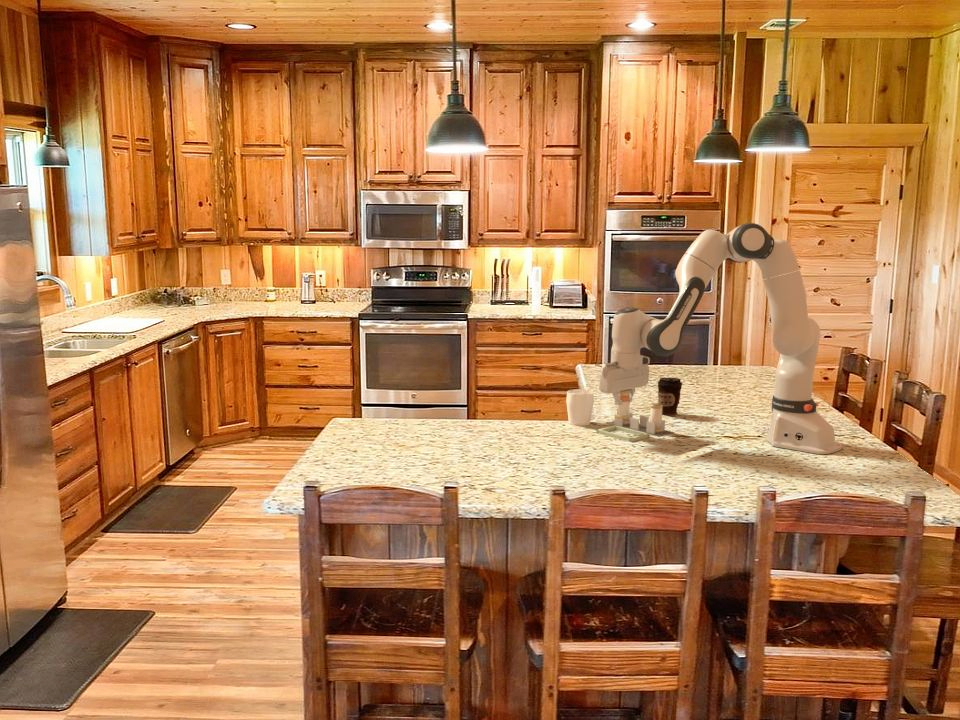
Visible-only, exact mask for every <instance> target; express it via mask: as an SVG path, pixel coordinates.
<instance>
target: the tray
mask: <svg viewBox="0 0 960 720" xmlns="http://www.w3.org/2000/svg"><path fill="white" fill-rule="evenodd" d="M614 430H616V431H619V432H625V433H628V434H632V435H635V436H632V437H630V436H626V435H622V434H618V433H614V432H611V431H614ZM596 434H598V435H602V436H607V437H610V438H614V439H618V440H622V441H626V442H630V443H633V442H637V441H641V440H643V439H646V438H650V434H649V433H645V432H641V431H636V430H632V429H628V428H624V427H620V426H616V425H609V426H606V427H602V428H599V429H596Z"/></svg>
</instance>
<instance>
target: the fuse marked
mask: <svg viewBox="0 0 960 720" xmlns="http://www.w3.org/2000/svg"><path fill="white" fill-rule="evenodd" d="M629 393H630V390H624V391H620V395H619V396H620V399H622V404H621V405H616V414H617V418H619V419H628V417H629V415H628V413H629V412H630V409H629Z"/></svg>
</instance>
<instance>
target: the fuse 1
mask: <svg viewBox="0 0 960 720" xmlns="http://www.w3.org/2000/svg"><path fill="white" fill-rule="evenodd" d="M630 403H631V402H630ZM630 403H629V410H630V408H631V407H630ZM628 415H629V413H628ZM623 425H629V417H628V419H623Z"/></svg>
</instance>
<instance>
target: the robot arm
mask: <svg viewBox="0 0 960 720" xmlns="http://www.w3.org/2000/svg"><path fill="white" fill-rule="evenodd" d="M726 260H727V261H731V262H733V263H738V264H741V263H747V262H751V261H754V262H755V263H756V264H757V265H758V268H759V269H760V272H761V276H762V281H763V286H764V289H765V293H766V296H767V301H768V304H769V306H768V307H769V312H770V315H769V316H770V322H771V323H770V324H771V331H772V344H773V347H774V349H775V350H776V351H777V352H778V353H779V356H778V362H777V366H776V370H775V374H774V375H775V378H774V390H773V391H774V392H773V395H772V400H771V412H772V413H771V420H770V422H769V428H768V431H767V433H766V437H765V441H767V442H769V443H770V445H771V446H772V447H776V448H782V449H787V450H793V451H794V450H795V451H799V452H805V453H812V454H816V455H828V454H833V453H836V452H839V451H840V450H843V444H842V443H841V442H839V441H836V436H835V435H836V433H835V430H834V427H833V425H831V424H830V423H829V422H828V421H827V420H826V419H825V418H824V417H823V416H821V415H820V413H818V412H817V407H819V406H820V402H815V401H814V399H813V398H812V397H813V387H814V386H813V385H814V375H815V374H814V373H815V367H816V363H817V358H818V357H817V356H818V352H819V344H820V338H821V328H820V325H819V324H818V322H817V321H815V320H814V319H812V317H809V315H808V306H807V305H808V304H807V303H808V302H807V293H806V288H805V284H804V280H803V277H802V273H801V272H802V271H801V270H800V269H801V268H800V266H799V263H798V260H797V257H796V254H795V252H794V249H793V248H792V246H791V244H790V242H788V241H787V240H785V239H783V238H782V239H779V238H778V239H777V238H776V239H775V238H774V237H773V236H772V235H771V234H769V232H767V230H766V229H765V228H764V227H763V226H762V225H760V224H757V223H754V222H747V223H743V224H741V225H738V226H736V227H734V228H733V229H732V230H730V231H729V232H727V233H725V234H724V233H722V232H720V231H718V230H716V229H705V230H704V231H702V232H701V233H700V234H699V235H698V236H697V237H696V239H695V240H693V242H692V243H691V244H690V245H689V247H688V248H687V249H686V251H685V252H684V254H683V256H682V257H681V258H680V260H679V262H678V264H677V266H676V269H675V272H674V273H675V279H676V282H677V285H678V286H679V287H678V288H679V292H678V296H677V298H676V300H675V302H674V304H673V305H672V307H671V309H670V311H668V314H667V316H666V317H665V318H664V319H659V318H656V317H653V316H651V315H648V314H646V313H645V312H642V311H641V310H640V309H639V308H638V307H626V308H621V309H619V310H617V311H616V312H615V313H614V315H613V319H612V329H611V339H612V346H611V348H610V350H611V351H610V362H608V363H606V364H605V365H604V367H603V368H602V369H601V374H600V379H599V388H598V389H599V391H600V393H603V394H608V395H609V394H612V397H613V399H614V406H617V405H621V404H622V399H620V396H619V395H620V391H624V390H630V393H629V403H633V397H634V395H635V393H636V389H637V388H643V387H646V386H647V385H648V383H649V379H650V367H649V364H650V362H651V361H650V360H651V358H650V357H649V356H645V355H642V354H641V349H642V348H645V349H648V350H650V351H651V352H652V353H653V354H655V355H657V356H659V357H668V356H672V355H674V354H675V353H676V352H677V351H678V350H679V349H680V347H681V345H682V341H683V337H684V333H685V331H686V327H687V325H688V324H689V322H690V320H691V318H692V316H693V315H694V314H695V311H696V309H697V308H698V306H699V304H700V302H701V300H702V299H703V298H702V297H703V296H704V293H705V291H706V288H707V287H708V286H709V283H710V281H711V280H712V279H713V277H714V275H715V273H716V272H717V271H718V269H719V268H720V266H721V265H722V263H723V262H724V261H726Z"/></svg>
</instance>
